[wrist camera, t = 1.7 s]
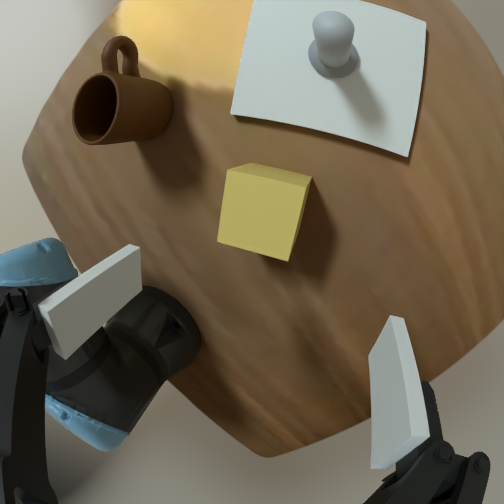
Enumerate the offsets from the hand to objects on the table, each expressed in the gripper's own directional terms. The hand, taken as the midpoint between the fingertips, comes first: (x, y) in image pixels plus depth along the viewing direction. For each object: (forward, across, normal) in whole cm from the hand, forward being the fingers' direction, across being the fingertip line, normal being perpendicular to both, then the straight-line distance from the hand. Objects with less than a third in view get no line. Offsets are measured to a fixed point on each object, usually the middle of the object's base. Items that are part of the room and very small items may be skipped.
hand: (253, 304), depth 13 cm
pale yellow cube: (+17, -2, +1) cm, 17 cm away
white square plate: (+17, +1, +17) cm, 24 cm away
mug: (+18, -19, +11) cm, 28 cm away
